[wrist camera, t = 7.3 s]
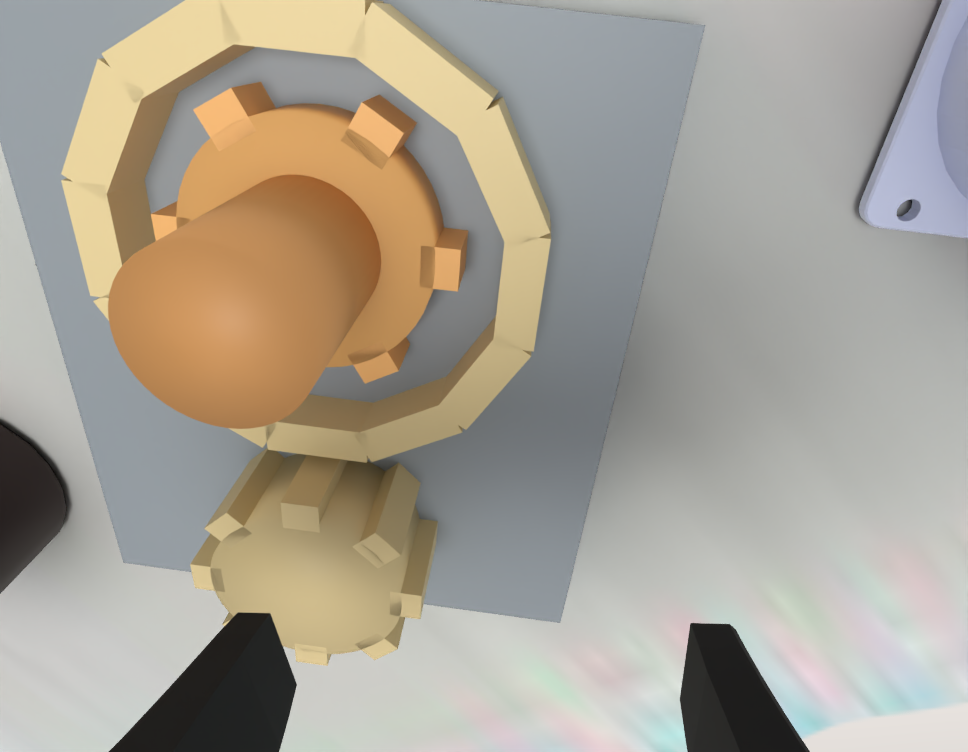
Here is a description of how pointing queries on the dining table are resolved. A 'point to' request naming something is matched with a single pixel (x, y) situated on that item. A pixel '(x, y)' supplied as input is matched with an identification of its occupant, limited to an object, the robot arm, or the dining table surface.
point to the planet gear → (283, 259)
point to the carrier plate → (433, 341)
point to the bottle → (25, 505)
